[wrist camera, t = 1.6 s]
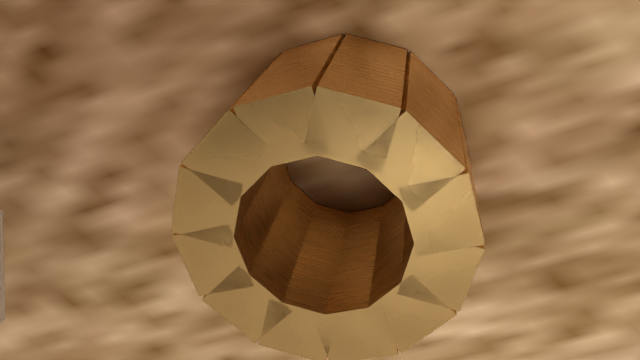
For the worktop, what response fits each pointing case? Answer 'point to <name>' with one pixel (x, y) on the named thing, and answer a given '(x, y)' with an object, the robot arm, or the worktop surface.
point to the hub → (326, 223)
